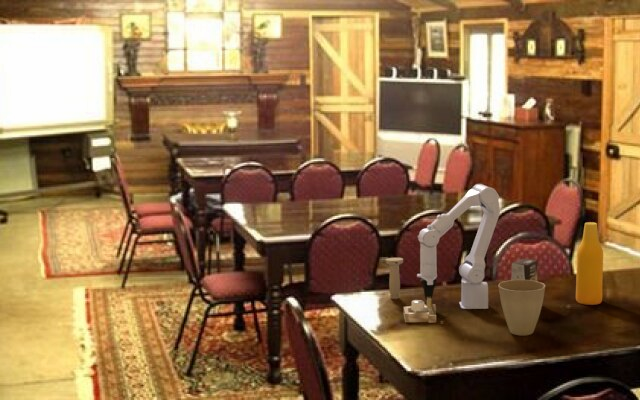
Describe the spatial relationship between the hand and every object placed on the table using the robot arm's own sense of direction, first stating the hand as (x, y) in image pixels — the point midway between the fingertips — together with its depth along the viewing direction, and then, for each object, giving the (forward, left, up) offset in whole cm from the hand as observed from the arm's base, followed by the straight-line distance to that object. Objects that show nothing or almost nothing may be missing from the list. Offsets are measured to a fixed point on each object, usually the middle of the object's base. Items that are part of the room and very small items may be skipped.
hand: (428, 299), depth 333 cm
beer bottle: (-59, -8, -4) cm, 60 cm away
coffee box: (-35, -5, -4) cm, 35 cm away
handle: (+11, -16, -4) cm, 20 cm away
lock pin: (0, +7, -3) cm, 7 cm away
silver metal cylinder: (+5, +10, -4) cm, 12 cm away
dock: (+4, +8, -4) cm, 10 cm away
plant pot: (-28, +27, -4) cm, 39 cm away
